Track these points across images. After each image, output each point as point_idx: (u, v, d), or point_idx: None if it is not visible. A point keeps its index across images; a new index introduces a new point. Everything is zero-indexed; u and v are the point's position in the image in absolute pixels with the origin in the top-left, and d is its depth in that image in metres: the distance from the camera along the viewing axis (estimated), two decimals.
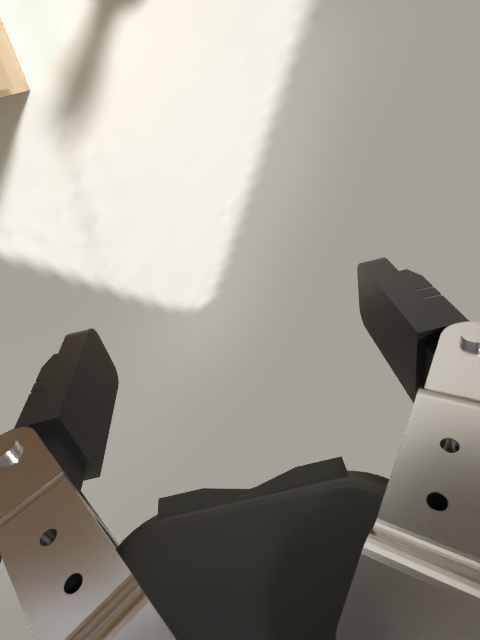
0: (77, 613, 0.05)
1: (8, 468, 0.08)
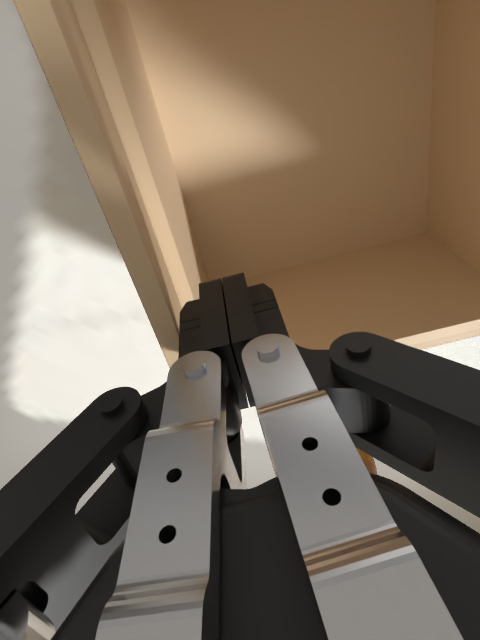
0: (155, 564, 0.05)
1: (205, 381, 0.09)
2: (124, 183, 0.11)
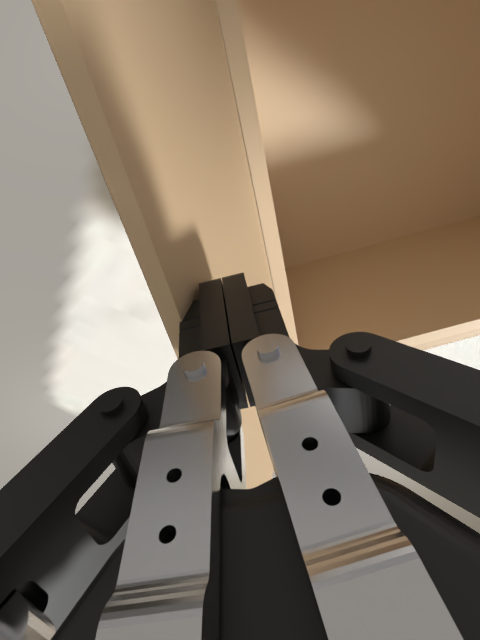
0: (156, 564, 0.05)
1: (205, 381, 0.09)
2: (160, 174, 0.11)
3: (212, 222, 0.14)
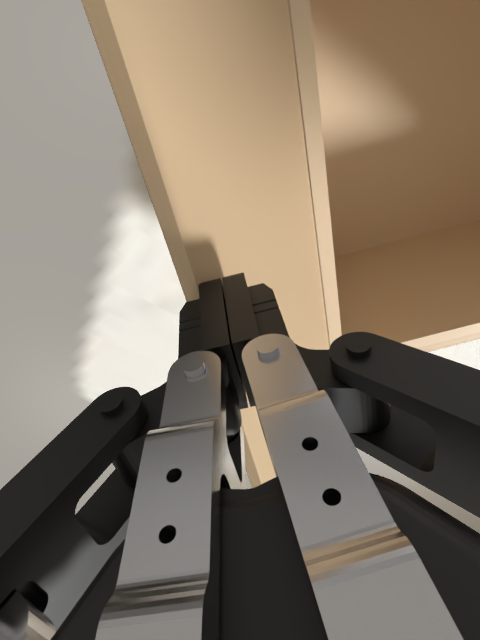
0: (156, 564, 0.05)
1: (205, 381, 0.09)
2: (194, 158, 0.12)
3: (250, 206, 0.15)
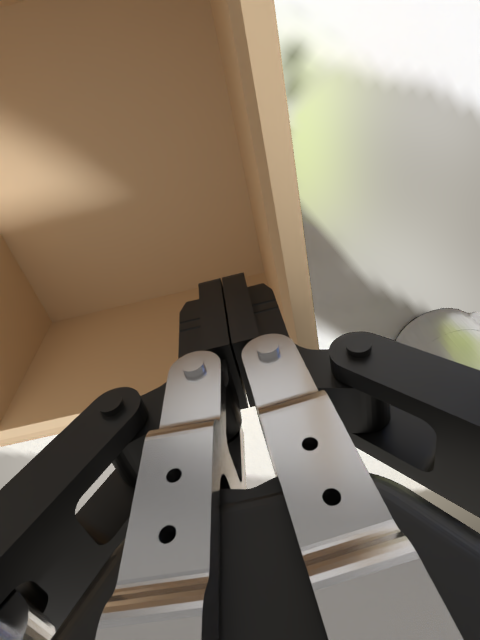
0: (155, 564, 0.05)
1: (205, 381, 0.09)
2: None
3: None
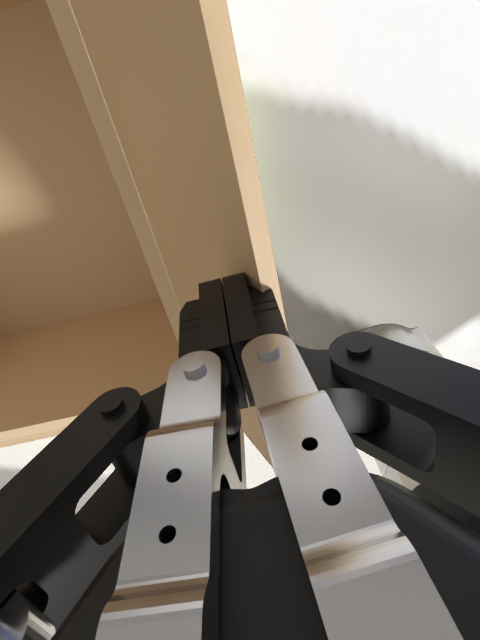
0: (155, 564, 0.05)
1: (205, 381, 0.09)
2: None
3: None
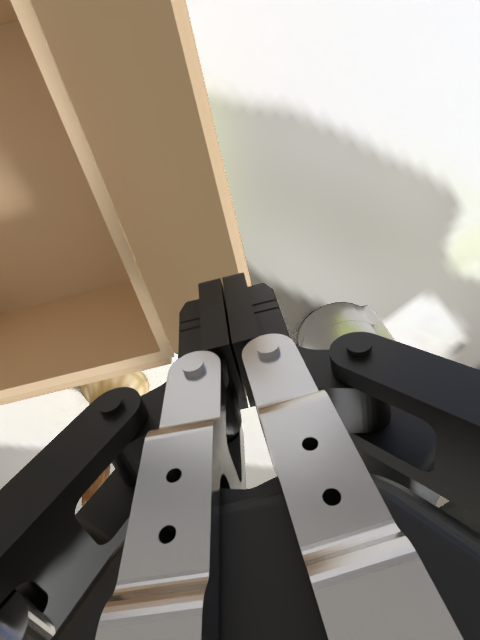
0: (154, 564, 0.05)
1: (204, 381, 0.09)
2: None
3: None
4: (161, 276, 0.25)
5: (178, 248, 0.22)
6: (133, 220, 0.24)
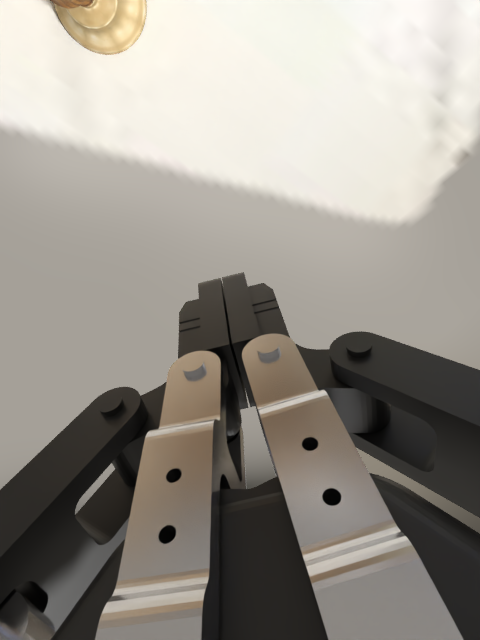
0: (155, 564, 0.05)
1: (204, 381, 0.09)
2: None
3: None
4: None
5: None
6: None
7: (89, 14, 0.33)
